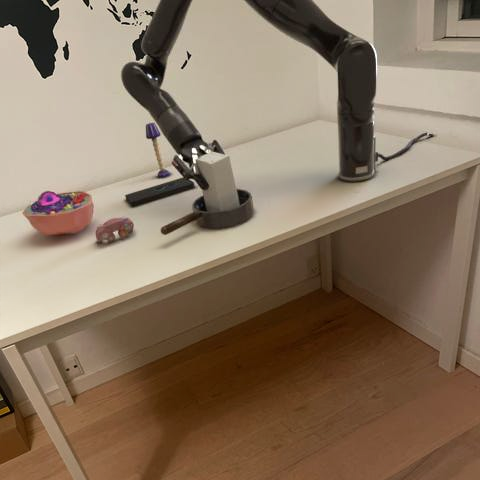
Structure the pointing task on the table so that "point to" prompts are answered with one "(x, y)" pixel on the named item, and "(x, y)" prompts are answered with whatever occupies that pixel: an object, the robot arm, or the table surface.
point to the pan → (225, 212)
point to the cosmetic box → (218, 182)
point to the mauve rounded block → (114, 229)
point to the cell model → (60, 212)
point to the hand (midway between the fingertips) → (217, 183)
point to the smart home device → (159, 191)
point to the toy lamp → (156, 147)
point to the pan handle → (180, 222)
